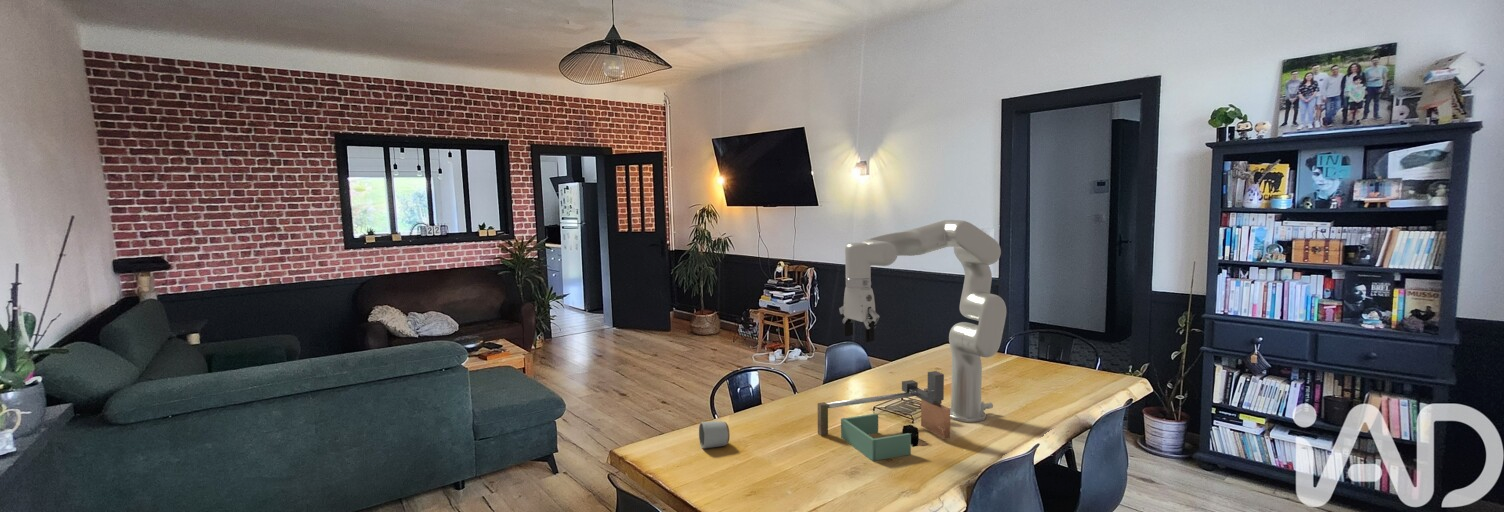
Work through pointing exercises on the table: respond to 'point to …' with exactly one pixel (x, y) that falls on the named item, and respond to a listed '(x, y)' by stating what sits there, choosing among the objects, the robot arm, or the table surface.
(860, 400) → the rod rail
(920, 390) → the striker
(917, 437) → the black block
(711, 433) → the ceramic mug
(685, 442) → the table surface
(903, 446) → the box
